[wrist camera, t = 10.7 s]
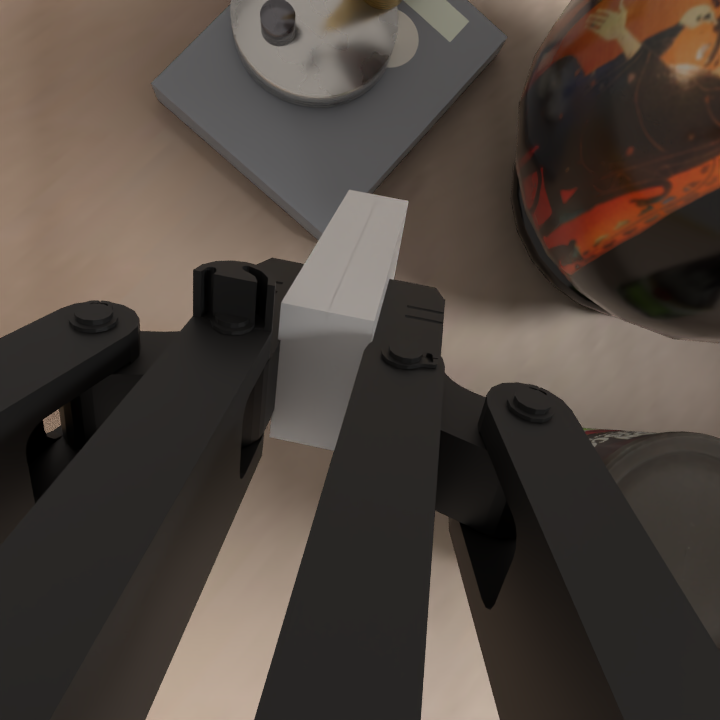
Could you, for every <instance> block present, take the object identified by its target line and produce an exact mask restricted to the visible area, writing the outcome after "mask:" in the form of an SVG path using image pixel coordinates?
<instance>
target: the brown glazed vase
mask: <svg viewBox="0 0 720 720" xmlns="http://www.w3.org/2000/svg"><path fill="white" fill-rule="evenodd" d="M511 202H512V207H513V212H514V217H515V222H516V226H517V231H518V233H519V235H520V237H521V239H522V241H523V243H524V245H525V248H526V250H527V252H528V254H529V256H530V258H531V260H532V261H533V262H534V264H535V265H536V266H537V267H538V268H539V270H540V271H541V272H542V273H543V274H544V275H545V277H546V278H547V279H548V280H549V281H550V282H551V284H552V285H553V286H554V287H556V288H557V289H559V290H560V291H561V292H563V293H564V294H566V295H567V296H568V297H570V298H571V299H573V300H574V301H575V302H577V303H578V304H580V305H582V306H585V307H588V308H590V309H593V310H596V311H598V312H601V313H604V314H606V315H609V316H614V317H616V318H619V319H621V320H624V321H626V322H629V323H632V324H634V325H637V326H640V327H642V328H645V329H648V330H651V331H653V332H656V333H659V334H661V335H664V336H667V337H669V338H672V339H677V340H688V341H700V342H711V343H720V0H571V1H570V3H569V4H568V6H567V7H566V8H565V10H564V11H563V13H562V14H561V16H560V17H559V19H558V20H557V21H556V23H555V24H554V26H553V27H552V29H551V30H550V32H549V34H548V35H547V37H546V39H545V40H544V42H543V43H542V45H541V47H540V48H539V50H538V52H537V53H536V55H535V57H534V59H533V62H532V65H531V68H530V72H529V75H528V78H527V81H526V84H525V87H524V90H523V93H522V96H521V99H520V102H519V112H518V127H517V147H516V159H515V162H514V165H513V170H512V190H511Z"/></svg>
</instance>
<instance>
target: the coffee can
mask: <svg viewBox="0 0 720 720" xmlns="http://www.w3.org/2000/svg"><path fill="white" fill-rule="evenodd" d="M583 430H584V431H585V433H586V435H587V436H588V438H589V440H590V441H591V443H592V445H593V446H594V448H595V449H596V451H597V453H598V454H599V456H600V458H601V459H602V461H603V462H604V464H605V466H606V467H607V469H608V471H609V472H610V474H611V475H612V477H613V479H614V480H615V482H616V484H617V485H618V487H619V488H620V490H621V492H622V493H623V495H624V497H625V498H626V500H627V501H628V503H629V505H630V506H631V508H632V510H633V511H634V513H635V514H636V516H637V518H638V519H639V521H640V523H641V524H642V526H643V528H644V529H645V531H646V532H647V534H648V536H649V537H650V539H651V541H652V542H653V544H654V545H655V547H656V549H657V550H658V552H659V554H660V555H661V557H662V558H663V560H664V562H665V563H666V565H667V567H668V568H669V570H670V571H671V573H672V575H673V576H674V578H675V580H676V581H677V583H678V584H679V586H680V588H681V589H682V591H683V593H684V594H685V596H686V598H687V599H688V601H689V602H690V604H691V606H692V607H693V609H694V611H695V612H696V614H697V615H698V617H699V619H700V620H701V622H702V624H703V625H704V627H705V628H706V630H707V632H708V633H709V635H710V637H711V638H712V640H713V641H714V643H715V645H716V646H717V648H718V650H719V651H720V438H717V437H714V436H710V435H706V434H701V433H692V432H664V433H649V432H635V431H621V430H604V429H589V428H583Z"/></svg>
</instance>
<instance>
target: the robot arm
mask: <svg viewBox="0 0 720 720" xmlns="http://www.w3.org/2000/svg"><path fill="white" fill-rule="evenodd" d="M408 202H409V201H407V200H401V199H396V198H391V197H385V196H380V195H375V194H370V193H364V192H359V191H354V190H349V191H348V192H347V194H346V196H345V197H344V199H343V201H342V202H341V204H340V206H339V207H338V209H337V211H336V212H335V214H334V216H333V217H332V219H331V221H330V222H329V224H328V226H327V227H326V229H325V231H324V232H323V234H322V236H321V237H320V239H319V241H318V242H317V244H316V246H315V247H314V249H313V251H312V252H311V254H310V256H309V257H308V259H307V261H306V262H305V264H301V263H296V262H291V261H286V260H281V259H276V258H271V259H268V260H266V261H264V262H262V263H259V264H257V265H254V264H251V263H247V262H240V261H215V262H210V263H206V264H202V265H201V266H199V267H197V268H196V269H194V270H193V317H192V318H191V319H190V320H189V322H188V323H187V324H186V325H185V326H184V328H183V329H182V330H181V331H178V332H150V331H140V323H139V317H138V316H137V314H136V313H135V311H133V310H132V309H130V308H128V307H126V306H124V305H120V304H116V303H111V302H109V301H101V302H99V301H88V302H84V303H76V304H73V305H70V306H67V307H64V308H61V309H59V310H57V311H55V312H53V313H51V314H49V315H47V316H45V317H43V318H41V319H39V320H36V321H34V322H32V323H30V324H28V325H26V326H24V327H22V328H20V329H18V330H16V331H14V332H12V333H10V334H8V335H6V336H4V337H2V338H0V720H145V719H146V717H147V715H148V712H149V710H150V708H151V705H152V703H153V701H154V699H155V696H156V694H157V692H158V690H159V687H160V685H161V683H162V681H163V678H164V676H165V674H166V671H167V669H168V667H169V665H170V662H171V660H172V658H173V656H174V653H175V651H176V649H177V646H178V644H179V642H180V640H181V637H182V635H183V633H184V631H185V628H186V626H187V624H188V622H189V619H190V617H191V615H192V612H193V610H194V608H195V606H196V603H197V601H198V599H199V597H200V594H201V592H202V590H203V588H204V585H205V583H206V581H207V578H208V576H209V574H210V572H211V569H212V567H213V565H214V563H215V560H216V558H217V556H218V553H219V551H220V549H221V547H222V544H223V542H224V540H225V538H226V535H227V533H228V531H229V529H230V526H231V524H232V522H233V519H234V517H235V515H236V513H237V510H238V508H239V506H240V504H241V501H242V499H243V497H244V495H245V492H246V490H247V488H248V485H249V483H250V481H251V479H252V476H253V474H254V472H255V470H256V467H257V465H258V463H259V460H260V458H261V456H262V450H263V439H264V431H265V429H266V426H267V424H268V422H269V420H270V418H271V426H270V437H271V438H276V439H280V440H285V441H290V442H295V443H299V444H304V445H309V446H314V447H318V448H323V449H328V450H333V451H334V453H333V456H332V460H331V463H330V467H329V470H328V473H327V477H326V480H325V483H324V487H323V490H322V493H321V497H320V500H319V504H318V507H317V510H316V514H315V517H314V520H313V524H312V527H311V530H310V534H309V537H308V541H307V544H306V547H305V551H304V554H303V557H302V561H301V564H300V568H299V571H298V574H297V578H296V581H295V584H294V588H293V591H292V594H291V598H290V601H289V605H288V608H287V611H286V615H285V618H284V621H283V625H282V628H281V631H280V635H279V638H278V642H277V645H276V648H275V652H274V655H273V658H272V662H271V665H270V669H269V672H268V675H267V679H266V682H265V685H264V689H263V692H262V695H261V699H260V702H259V706H258V709H257V712H256V716H255V719H254V720H421V707H422V692H423V678H424V663H425V649H426V634H427V619H428V605H429V590H430V575H431V561H432V546H433V532H434V517H435V510H436V511H438V512H440V513H442V514H444V515H446V516H448V517H449V532H450V536H451V539H452V543H453V547H454V551H455V554H456V558H457V562H458V566H459V569H460V573H461V577H462V580H463V584H464V588H465V592H466V595H467V599H468V603H469V606H470V610H471V614H472V618H473V621H474V625H475V629H476V632H477V636H478V640H479V644H480V647H481V651H482V655H483V658H484V662H485V666H486V670H487V673H488V677H489V681H490V684H491V688H492V692H493V696H494V699H495V703H496V707H497V711H498V714H499V718H500V720H720V651H719V650H718V648H717V646H716V645H715V643H714V641H713V640H712V638H711V637H710V635H709V633H708V632H707V630H706V628H705V627H704V625H703V624H702V622H701V620H700V619H699V617H698V615H697V614H696V612H695V611H694V609H693V607H692V606H691V604H690V602H689V601H688V599H687V598H686V596H685V594H684V593H683V591H682V589H681V588H680V586H679V584H678V583H677V581H676V580H675V578H674V576H673V575H672V573H671V571H670V570H669V568H668V567H667V565H666V563H665V562H664V560H663V558H662V557H661V555H660V554H659V552H658V550H657V549H656V547H655V545H654V544H653V542H652V541H651V539H650V537H649V536H648V534H647V532H646V531H645V529H644V528H643V526H642V524H641V523H640V521H639V519H638V518H637V516H636V514H635V513H634V511H633V510H632V508H631V506H630V505H629V503H628V501H627V500H626V498H625V497H624V495H623V493H622V492H621V490H620V488H619V487H618V485H617V484H616V482H615V480H614V479H613V477H612V475H611V474H610V472H609V471H608V469H607V467H606V466H605V464H604V462H603V461H602V459H601V458H600V456H599V454H598V453H597V451H596V449H595V448H594V446H593V445H592V443H591V441H590V440H589V438H588V436H587V435H586V433H585V431H584V430H583V428H582V427H581V425H580V423H579V422H578V420H577V418H576V417H575V415H574V414H573V412H572V410H571V409H570V408H569V407H568V406H567V405H566V404H565V403H564V401H563V400H561V399H560V398H558V397H557V396H555V395H553V394H552V393H550V392H549V391H547V390H545V389H543V388H538V386H534V385H531V384H522V383H502V384H499V385H497V386H494V387H492V388H491V390H490V391H489V392H488V394H487V395H486V397H483V396H481V395H478V394H476V393H473V392H471V391H469V390H467V389H465V388H463V387H461V386H460V385H458V384H457V383H455V382H454V381H452V380H451V379H450V378H449V377H448V376H447V375H446V374H445V372H444V371H445V365H444V362H443V358H442V357H441V346H442V333H443V320H444V306H445V300H444V298H443V297H442V296H441V294H440V293H439V291H438V290H437V289H436V288H434V287H428V286H423V285H418V284H413V283H408V282H403V281H398V280H394V276H395V271H396V266H397V261H398V255H399V250H400V245H401V239H402V234H403V229H404V223H405V218H406V213H407V207H408ZM58 409H59V413H60V420H61V426H59V427H58V428H56V429H55V430H54V431H51V432H49V433H47V434H46V432H45V431H44V425H43V419H44V418H46V417H47V416H49V415H50V414H52V413H53V412H55V411H56V410H58Z"/></svg>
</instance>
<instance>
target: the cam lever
mask: <svg viewBox="0 0 720 720" xmlns="http://www.w3.org/2000/svg"><path fill="white" fill-rule="evenodd" d="M401 2H402V0H231V6H230V13H231V23H232V30H233V37H234V42H235V46H236V49H237V52H238V55H239V57H240V59H241V61H242V63H243V65H244V67H245V68H246V70H247V71H248V72H249V74H250V75H251V76H252V77H253V79H254V80H255V81H256V82H257V83H258V84H259V85H260V86H262V87H263V88H264V89H265V90H266V91H268V92H269V93H271V94H272V95H274V96H276V97H278V98H280V99H282V100H284V101H286V102H289V103H292V104H294V105H298V106H303V107H310V108H328V107H334V106H339V105H342V104H346V103H348V102H351V101H353V100H355V99H357V98H359V97H360V96H362V95H363V94H365V93H366V92H367V91H368V90H370V89H371V88H372V87H373V86H374V85H375V84H376V83H377V82H378V80H379V79H380V78H381V76H382V75H383V73H384V72H385V70H386V68H387V66H388V64H389V61H390V58H391V55H392V51H393V48H394V45H395V41H396V38H397V32H398V9H397V5H398V4H400V3H401Z"/></svg>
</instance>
